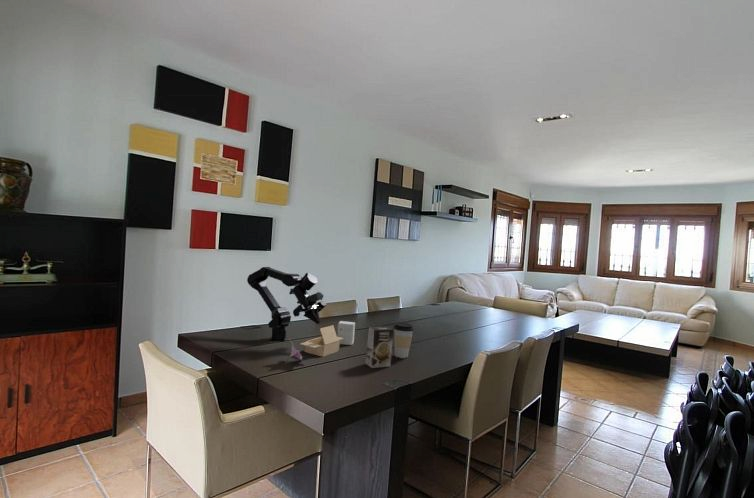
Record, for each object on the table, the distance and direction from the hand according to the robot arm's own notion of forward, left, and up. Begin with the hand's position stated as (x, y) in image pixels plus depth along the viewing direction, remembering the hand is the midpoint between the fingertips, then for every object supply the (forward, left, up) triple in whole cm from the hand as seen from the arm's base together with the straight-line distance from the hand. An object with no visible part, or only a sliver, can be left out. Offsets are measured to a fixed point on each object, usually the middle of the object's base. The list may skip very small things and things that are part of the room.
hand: (319, 323), depth 184 cm
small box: (+16, +12, -13) cm, 24 cm away
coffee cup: (+38, -10, -13) cm, 41 cm away
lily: (-12, -19, -13) cm, 25 cm away
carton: (+2, -2, -12) cm, 13 cm away
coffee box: (+23, -22, -13) cm, 34 cm away
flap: (+4, -4, -4) cm, 7 cm away
